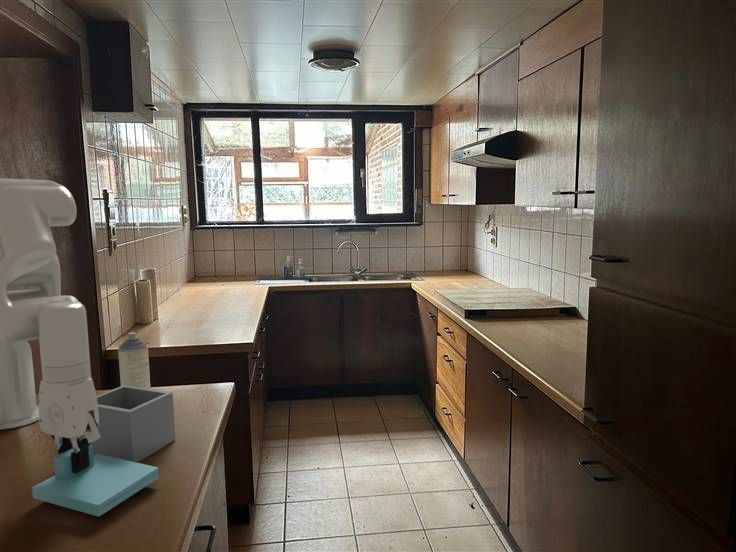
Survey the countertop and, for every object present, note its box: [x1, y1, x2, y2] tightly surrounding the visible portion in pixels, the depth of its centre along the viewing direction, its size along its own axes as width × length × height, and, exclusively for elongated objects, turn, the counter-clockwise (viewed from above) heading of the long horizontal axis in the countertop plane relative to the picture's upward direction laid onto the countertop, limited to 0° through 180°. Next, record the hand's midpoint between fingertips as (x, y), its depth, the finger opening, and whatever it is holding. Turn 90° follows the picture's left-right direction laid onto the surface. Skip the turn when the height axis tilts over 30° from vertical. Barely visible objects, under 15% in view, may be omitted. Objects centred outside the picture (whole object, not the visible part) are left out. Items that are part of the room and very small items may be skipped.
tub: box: [81, 385, 176, 463], centre depth 114 cm, size 14×12×11 cm
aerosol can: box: [118, 331, 151, 389], centre depth 134 cm, size 7×7×20 cm
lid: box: [31, 445, 160, 518], centre depth 95 cm, size 15×13×6 cm
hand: (74, 467), depth 97 cm, fingers closed on lid, 2 cm apart
